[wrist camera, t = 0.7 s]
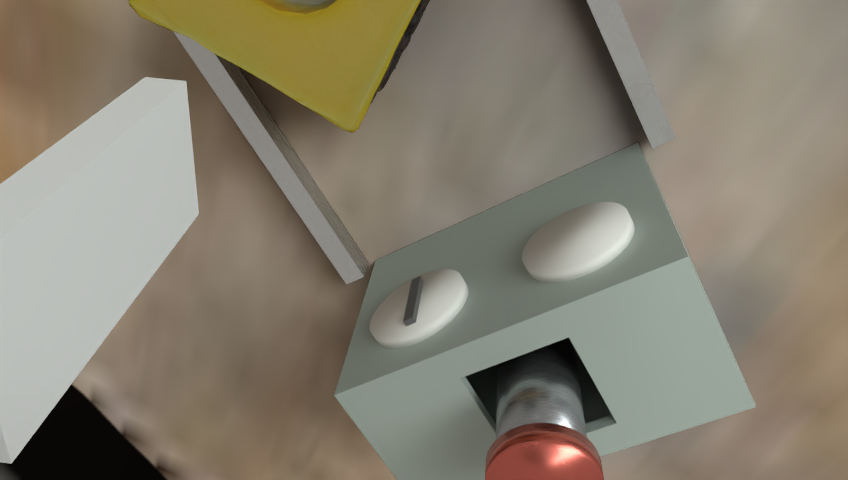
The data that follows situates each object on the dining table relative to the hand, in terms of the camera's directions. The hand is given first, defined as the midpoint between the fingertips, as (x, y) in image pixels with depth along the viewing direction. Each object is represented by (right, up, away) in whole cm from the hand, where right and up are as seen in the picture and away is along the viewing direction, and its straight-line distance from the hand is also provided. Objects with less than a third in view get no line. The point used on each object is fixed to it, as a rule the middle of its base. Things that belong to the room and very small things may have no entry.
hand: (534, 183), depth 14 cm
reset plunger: (+3, -6, +21) cm, 22 cm away
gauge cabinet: (+4, -2, +29) cm, 29 cm away
